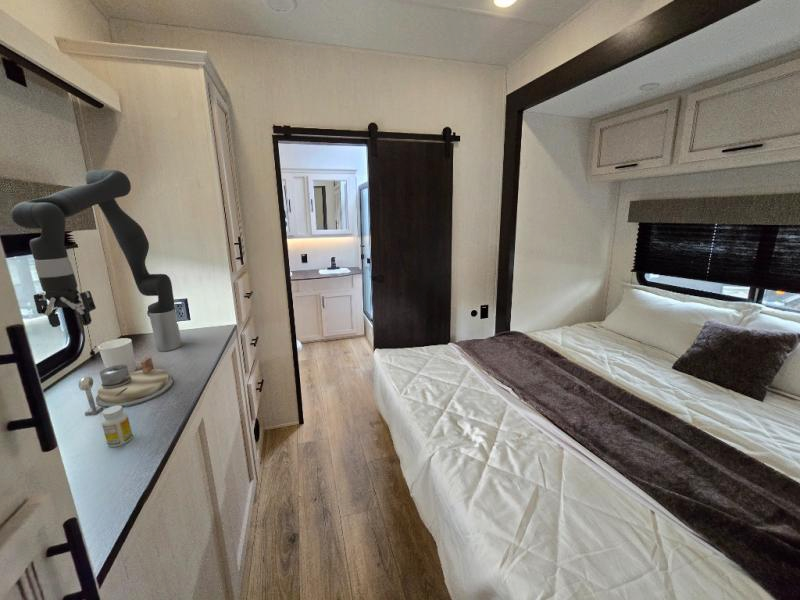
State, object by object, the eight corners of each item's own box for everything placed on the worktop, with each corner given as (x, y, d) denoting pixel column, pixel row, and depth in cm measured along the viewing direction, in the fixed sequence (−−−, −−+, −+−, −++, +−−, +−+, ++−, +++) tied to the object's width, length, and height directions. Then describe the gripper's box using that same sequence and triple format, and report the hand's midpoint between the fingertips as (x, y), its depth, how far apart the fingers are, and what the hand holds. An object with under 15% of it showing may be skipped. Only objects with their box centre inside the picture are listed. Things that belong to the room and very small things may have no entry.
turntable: (125, 374, 125) (121, 358, 123) (180, 371, 127) (177, 355, 125) (83, 404, 106) (78, 386, 105) (148, 400, 108) (144, 382, 106)
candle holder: (120, 379, 124) (112, 349, 121) (98, 377, 126) (90, 347, 123) (144, 367, 133) (138, 339, 130) (124, 365, 135) (117, 337, 132)
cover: (112, 378, 119) (109, 364, 117) (136, 376, 119) (133, 363, 118) (96, 389, 111) (92, 375, 110) (121, 388, 112) (118, 374, 111)
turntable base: (124, 377, 126) (123, 375, 126) (184, 374, 128) (183, 371, 128) (78, 410, 106) (78, 407, 105) (150, 405, 108) (150, 403, 107)
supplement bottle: (110, 450, 88) (101, 418, 86) (105, 441, 92) (96, 410, 89) (135, 439, 92) (127, 408, 90) (130, 431, 95) (122, 401, 93)
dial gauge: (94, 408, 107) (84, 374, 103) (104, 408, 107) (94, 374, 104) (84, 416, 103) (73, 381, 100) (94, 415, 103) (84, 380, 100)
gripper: (92, 270, 104) (105, 320, 109) (40, 271, 103) (56, 322, 107) (72, 275, 97) (88, 328, 102) (16, 277, 95) (35, 331, 100)
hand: (71, 325), depth 104 cm, fingers open, 8 cm apart
